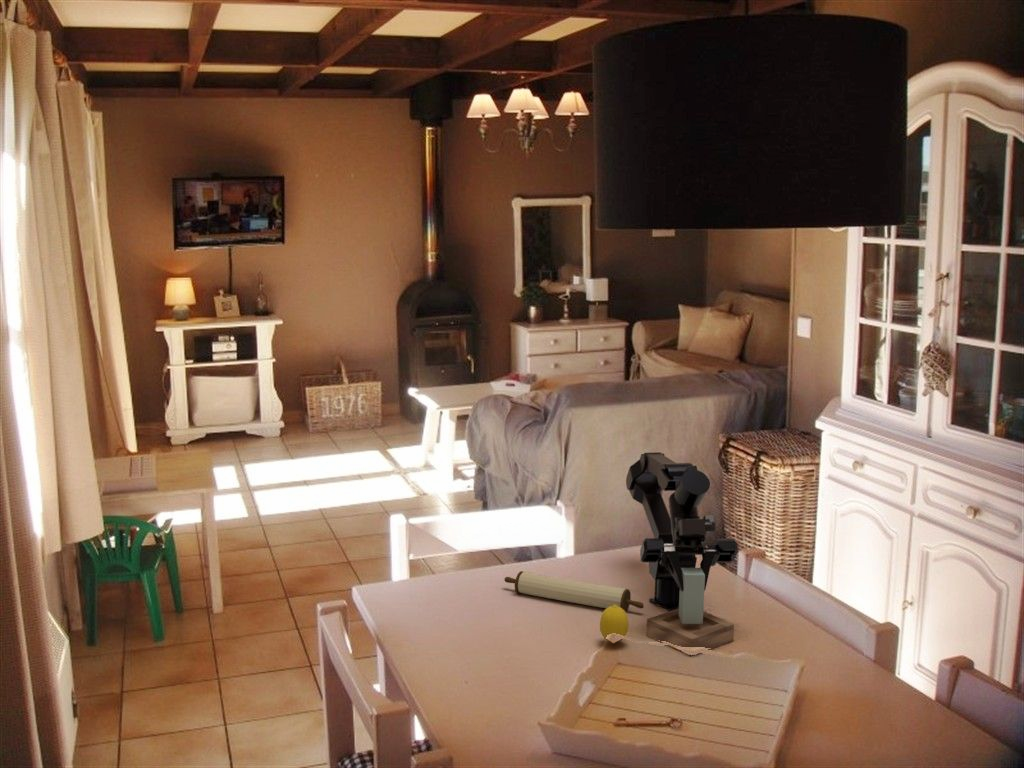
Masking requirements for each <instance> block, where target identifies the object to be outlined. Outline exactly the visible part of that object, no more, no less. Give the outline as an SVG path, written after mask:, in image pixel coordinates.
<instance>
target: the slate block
mask: <svg viewBox="0 0 1024 768" xmlns="http://www.w3.org/2000/svg"><path fill="white" fill-rule="evenodd" d="M681 573H682V577H683V587H684V590H683V591H681V590H680V594H679V608H678V609H679V617H680V620H681V622H682V624H703V611H704V606H705V603H704V601H705V591H704V587H705V574H704V572H703V571H702V569H701V568H700V567H695V568H681Z"/></svg>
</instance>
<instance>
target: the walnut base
mask: <svg viewBox="0 0 1024 768" xmlns="http://www.w3.org/2000/svg"><path fill="white" fill-rule="evenodd" d="M734 636H735V624H734V623H732V622H730V621H728V620H725V619H723V618H721V617H719V616H715V615H713V614H712V613H710V612H706V611H705V610H703V624H682V622H681V620H680V617H679V608H677V609H674V610H669V611H667V612H664V613H661V614H658V615H657V614H656V615H654V616H653V617H652V616H651V617H649V618H646V637H649V638H651V639H653V640H655V641H657V640H660V641H666V642H669V643H671V644H673V645H677V646H681V647H705V648H711V649H710V650H713V649H715V648H718V647H721V646H724V645H726V644H729V643H732V642H734Z"/></svg>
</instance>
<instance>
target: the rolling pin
mask: <svg viewBox="0 0 1024 768" xmlns="http://www.w3.org/2000/svg"><path fill="white" fill-rule="evenodd" d="M504 582H505V583H508V584H514V591H515V593H516V594H518V595H519V594H526V595H529V596H535V597H541V598H546V599H550V600H557V601H562V602H567V603H574V604H579V605H585V606H590V607H591V606H592V607H595V608H603V609H607V608H608V607H610V606H613V605H617V606H618V607H620V608H622V609H623V610H624V611H625V612H627V611H628V610H629V608H630V606H633V607H636V608H638V609H643V608H644V606H645V605H644V603H643V602H641V601H636V600H631V597H632V594H631V590H630V589H628V588H624V587H617V586H610V585H602V584H595V583H589V582H583V581H578V580H577V581H576V580H571V579H565V578H559V577H553V576H547V575H545V574H544V575H543V574H540V573H537V572H536V573H535V572H532V571H527V570H526V571H523V570H522V571H519V572H518V573H517V575H516V577H515V578H513V577H510V576H505V577H504Z"/></svg>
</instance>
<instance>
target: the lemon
mask: <svg viewBox="0 0 1024 768" xmlns="http://www.w3.org/2000/svg"><path fill="white" fill-rule="evenodd" d="M626 612H627V611H626ZM626 612H625V611H624V610H623V609H622V608H620V607H618V606H617V605H613V606H610V607H608V608H604V610H603V612H602V613H601V617H600V620H599V622H600V623H599V629H600V632H601V636H602V637H603V638H604V639H605V640H606V637H607V635H609V634H612V633H616V634H620V635H623V636H625V637H626V636H627V635H628V631H629V625H630V624H629V617H628V615H627V613H626Z"/></svg>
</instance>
